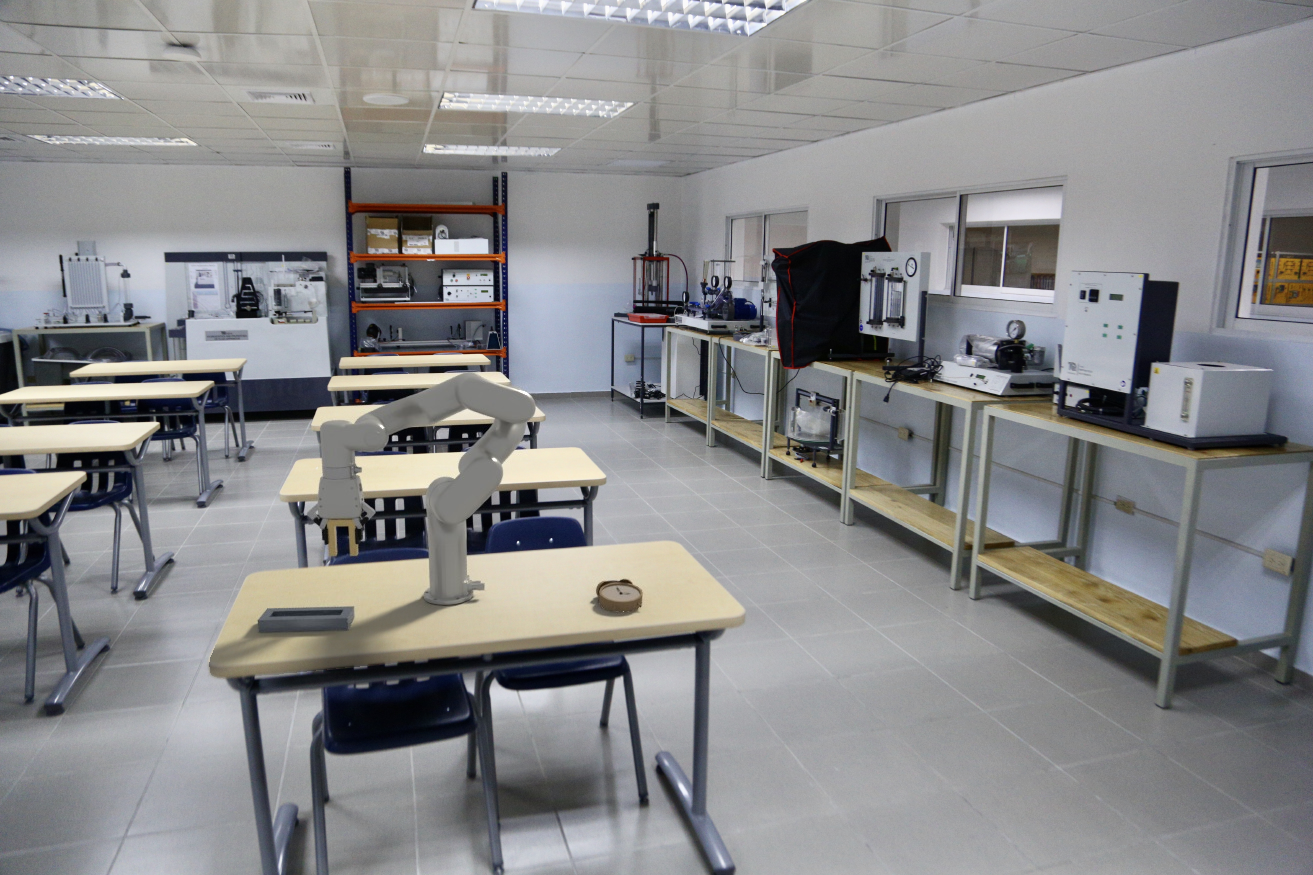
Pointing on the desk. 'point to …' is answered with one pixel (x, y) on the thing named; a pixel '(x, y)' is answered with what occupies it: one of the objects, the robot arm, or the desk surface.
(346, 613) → the rail
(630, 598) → the alarm clock
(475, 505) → the robot arm
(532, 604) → the desk surface
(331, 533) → the wooden u-shaped block
